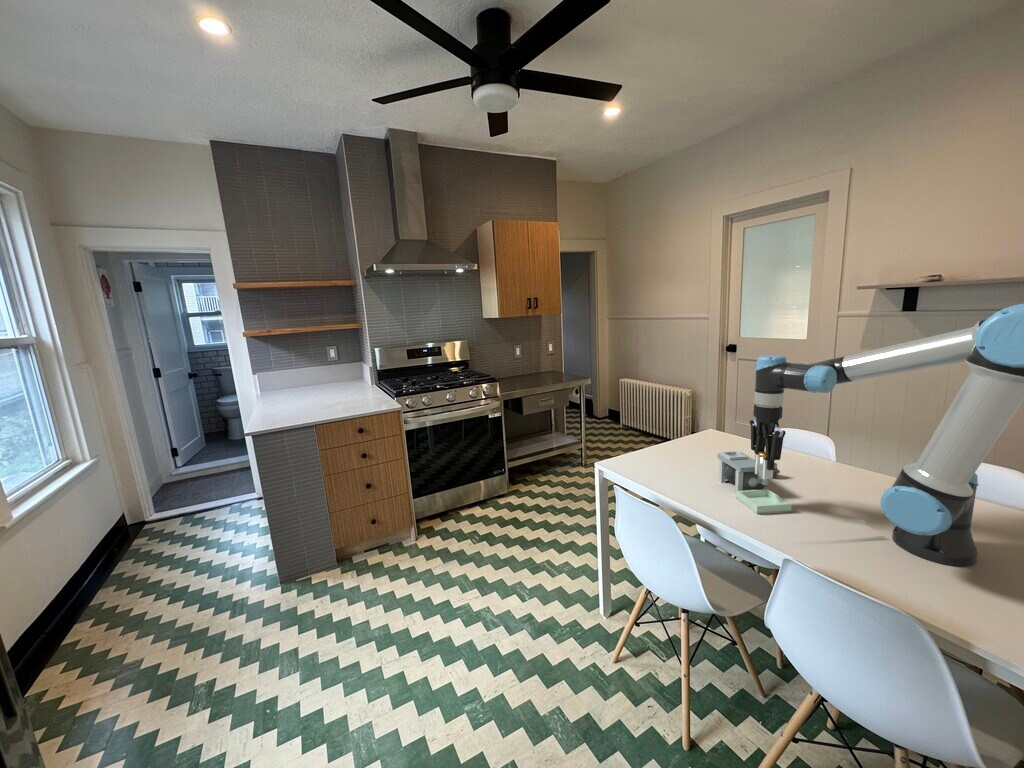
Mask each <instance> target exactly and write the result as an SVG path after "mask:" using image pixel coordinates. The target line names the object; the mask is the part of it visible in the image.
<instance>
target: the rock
mask: <svg viewBox="0 0 1024 768" xmlns="http://www.w3.org/2000/svg"><path fill="white" fill-rule="evenodd" d="M780 473H781V471H780V469H778V463H777V462H774V470H773V478H774V477H777V476H778V475H779V474H780Z"/></svg>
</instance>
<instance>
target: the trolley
mask: <svg viewBox="0 0 1024 768" xmlns="http://www.w3.org/2000/svg"><path fill="white" fill-rule="evenodd" d="M717 459H719V467H718V468H719V470H718V471H719V473H718V475H719V476H718V482H719V483H721V484H722V483H723V484H724V482H726V481H727V482H729V483H731V484H733V485H734V494H735V495H736V491H745V490H761V489H765V486H766V485H763V484H759V483H758V482H757V477H758V474H755V464H756V463H755V458H753V457H751V456H749V455H747V454H745V453H744V452H741V451H737V450H729V451H728V450H727V451H720V453H717Z"/></svg>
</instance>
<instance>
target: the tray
mask: <svg viewBox="0 0 1024 768" xmlns="http://www.w3.org/2000/svg"><path fill="white" fill-rule="evenodd" d="M735 495H736V497H735V499H736V500H737V501H739V502H740V503H741V504H743V505H744V506H745V507H747V509H749V510H751V511H752V512H753V513H754V514H756V515H763V514H764V515H767V514H770V515H771V514H782V513H792V503H790V502H789V501H787V500H786V499H784V498H783V497H781V496H779V495H778V494H777V493H775V492H773V491H772V490H770V489H768V488H763V489H761V490H745V491H736V494H735Z"/></svg>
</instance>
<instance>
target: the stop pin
mask: <svg viewBox="0 0 1024 768" xmlns="http://www.w3.org/2000/svg"><path fill="white" fill-rule="evenodd" d="M764 458H766V450H764V451H760V452H759V461H758V477H757V482H758V483H759V484H763V485H765V486H768V485H769V484H770V479H763V464H764Z"/></svg>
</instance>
